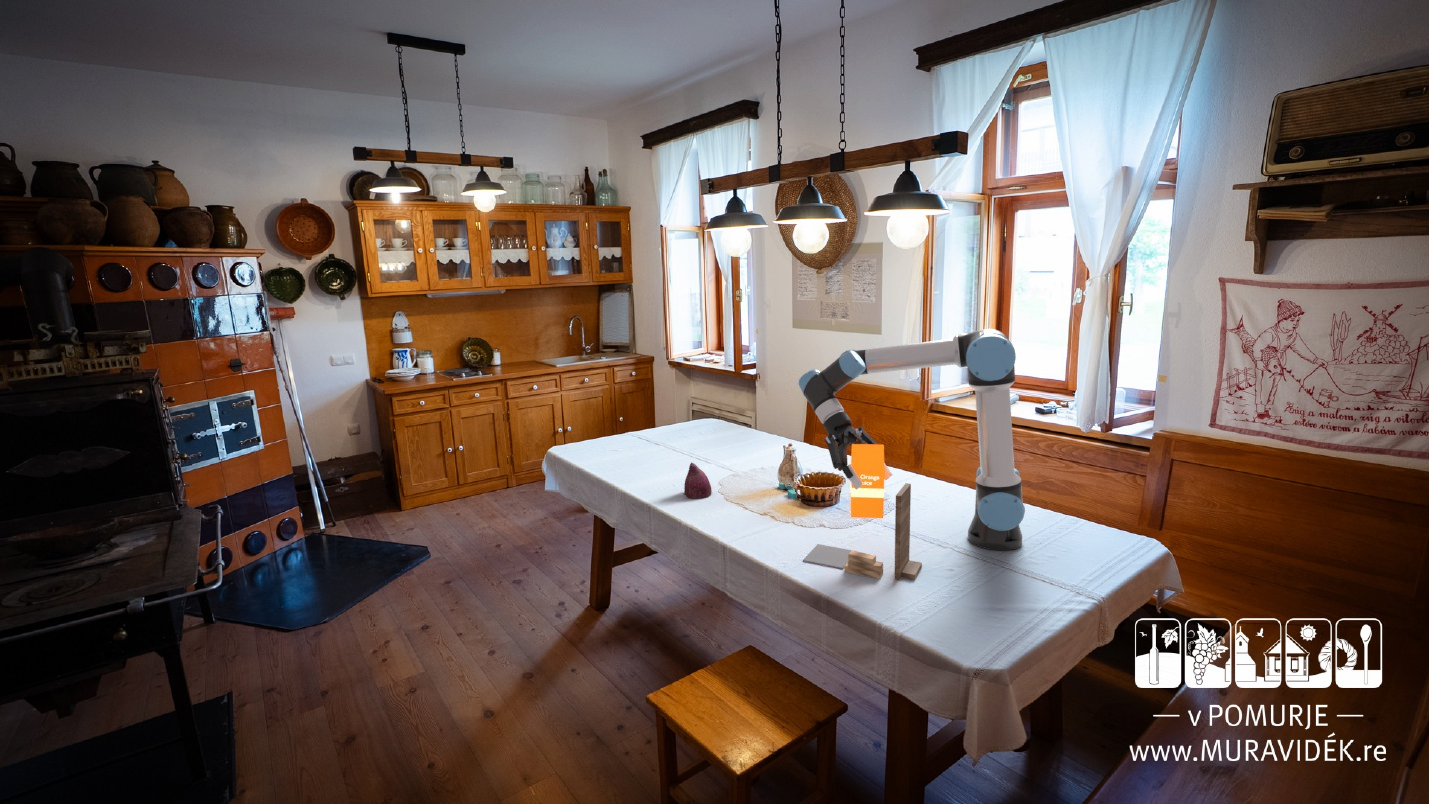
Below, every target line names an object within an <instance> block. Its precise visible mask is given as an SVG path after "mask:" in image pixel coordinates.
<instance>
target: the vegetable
mask: <svg viewBox="0 0 1429 804" xmlns="http://www.w3.org/2000/svg"><path fill="white" fill-rule="evenodd" d="M683 489H684V490H683V491H684V496H685V497H686V498H687V499H689V500H690V499H691V500H702V499H706V498H709V497H711V496H712V491H713V490H712V486H711V483H710V480H709V478H708V476H707V475H706V473H705V472H704V471H703V470H702V469H701V468H700V467H699V466H698V465H697V464H695V463H694V462H690V464H689V467H688V471H687V474H686V477H685V480H684V488H683Z"/></svg>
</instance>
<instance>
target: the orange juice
mask: <svg viewBox="0 0 1429 804" xmlns="http://www.w3.org/2000/svg"><path fill="white" fill-rule="evenodd" d="M884 461H885V445H884V444H878V445H875V444H852V446H851V457H850V464H851V466H852V467H853V469H854V470H855V472H856V474H857V475H858V477H859V479H860V480H861V482H862V483H863V485H862V486H861V487H860V488H859V489H857V490H856V489H855V488H854V486H853V485H852V483H851V482H850V503H849V504H850V505H849V506H850V507H849V508H850V509H849V510H850V518H860V519H861V518H864V519H866V518H867V519H884V507H885V506H884V505H885V502H884V501H885V500H884V499H885V479H884V470H885V468H884Z"/></svg>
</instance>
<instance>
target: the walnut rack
mask: <svg viewBox="0 0 1429 804" xmlns="http://www.w3.org/2000/svg"><path fill="white" fill-rule="evenodd" d="M911 488H912V484H911V483H908V482H905V484H904V485H903V486H902V487H901V488H900V490H899V491H898V492H897V493H896V494H895V516H894V517H895V522H894V523H895V524H894V578H893V579H894V580H895V581H901V579H902V578H903V579H907V580H908V579H909V580H914V581H915V580H916V578H917V577H918V576H919V573H920V572H921V570H922V567H923V563H922V562H920V561H915V560H910V548H911V547H910V542H911V538H910V537H911V535H910V534H911V500H912V499H911V495H912V493H911V491H912V489H911ZM851 550H852V549H851ZM843 570H844V573H847V574H850V575H851V574H852V575H858V576H862V577H866V578H867V577H868V578H871V579H876V580H881V579H882V577H883V576H884V562H883V561H877V555H875V554H871V553H865V552H860V551H857V550H852V551H851V552H850V553H849V554H848V562H847V564H846V565H845V566H844V568H843Z"/></svg>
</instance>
